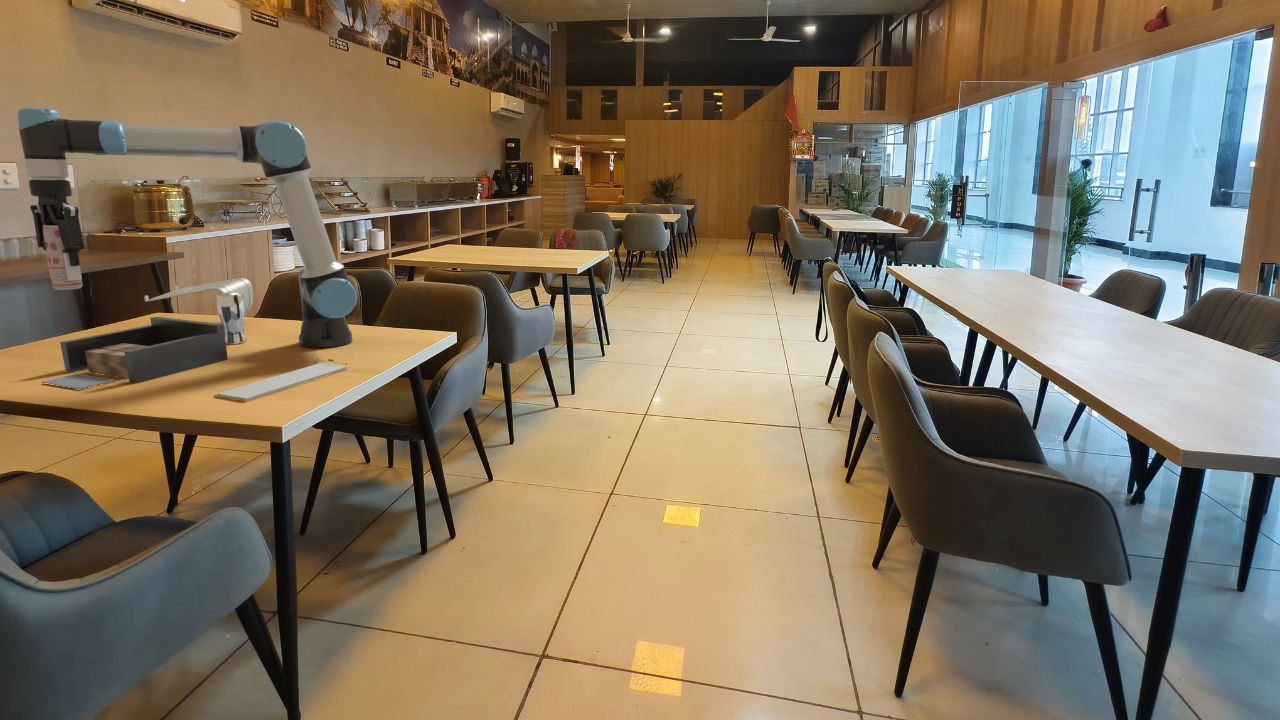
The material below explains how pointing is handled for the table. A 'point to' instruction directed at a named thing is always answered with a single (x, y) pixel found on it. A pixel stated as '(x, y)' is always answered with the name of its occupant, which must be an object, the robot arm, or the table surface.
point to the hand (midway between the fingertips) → (66, 278)
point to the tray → (155, 347)
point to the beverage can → (57, 260)
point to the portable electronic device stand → (224, 286)
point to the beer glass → (232, 316)
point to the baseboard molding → (281, 382)
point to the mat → (78, 381)
